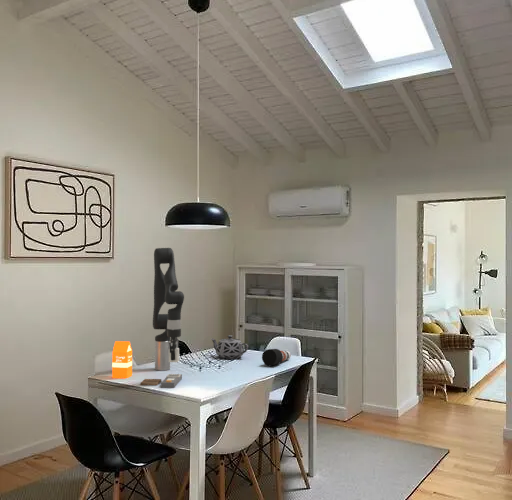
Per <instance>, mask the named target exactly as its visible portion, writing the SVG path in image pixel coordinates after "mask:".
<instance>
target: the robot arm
mask: <svg viewBox="0 0 512 500" xmlns="http://www.w3.org/2000/svg"><path fill="white" fill-rule="evenodd" d="M153 260H154V261H153V262H154V263H153V266H154V270H153V271H154V280H153V281H154V282H153V313H152V327H153V329H154V330H164V331H163V332H161V333H160V334H157V335H155V336H154V370H155V371H169V370H171V362H169V349H170V353H171V360H175V349H176V348H179V339H178V338H180V337H181V336H182V319H181V318H182V316H181V314H182V313H181V312H182V308H183V305H184V304H183V303H184V301H185V294H184V293H183V291H180V290H179V291H178V288H179V285H178V280H177V275H176V264H175V263H176V262H175V254H174V250H173V248H171V247H157V248H155V249H154V253H153ZM161 264H162V265H164V264H168V267H167V270H166V271H165V273H163V271H162V268H161ZM165 303H166V304H167V305H176V306H174V307H173V308H169V309H168V310H167V313H160V311H161V308H162V307H163V306H164V304H165ZM172 349H173V350H172Z"/></svg>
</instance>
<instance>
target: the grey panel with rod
mask: <svg viewBox="0 0 512 500" xmlns="http://www.w3.org/2000/svg"><path fill="white" fill-rule="evenodd" d="M182 378H183V374H182V373H180V374H179V373H169V374H167V375H166V377H164V379H163V380H161V382H160V388H163V389H164V388H167V389H175V388H176V386H177V385H178V384H179V383H180V382H181V381H182V380H183V379H182Z"/></svg>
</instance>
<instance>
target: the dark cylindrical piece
mask: <svg viewBox="0 0 512 500" xmlns="http://www.w3.org/2000/svg"><path fill="white" fill-rule="evenodd" d="M291 357H292V355H291V352H290V351H288V350H280V349H278V348H270V349H266V350H264V351H263V353H262V354H261V359H262V363H264V365H266V366H269V367H270V366H277V365H280V364H281V362H284V361H287V360H288V361H289V360H290V359H291Z"/></svg>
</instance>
